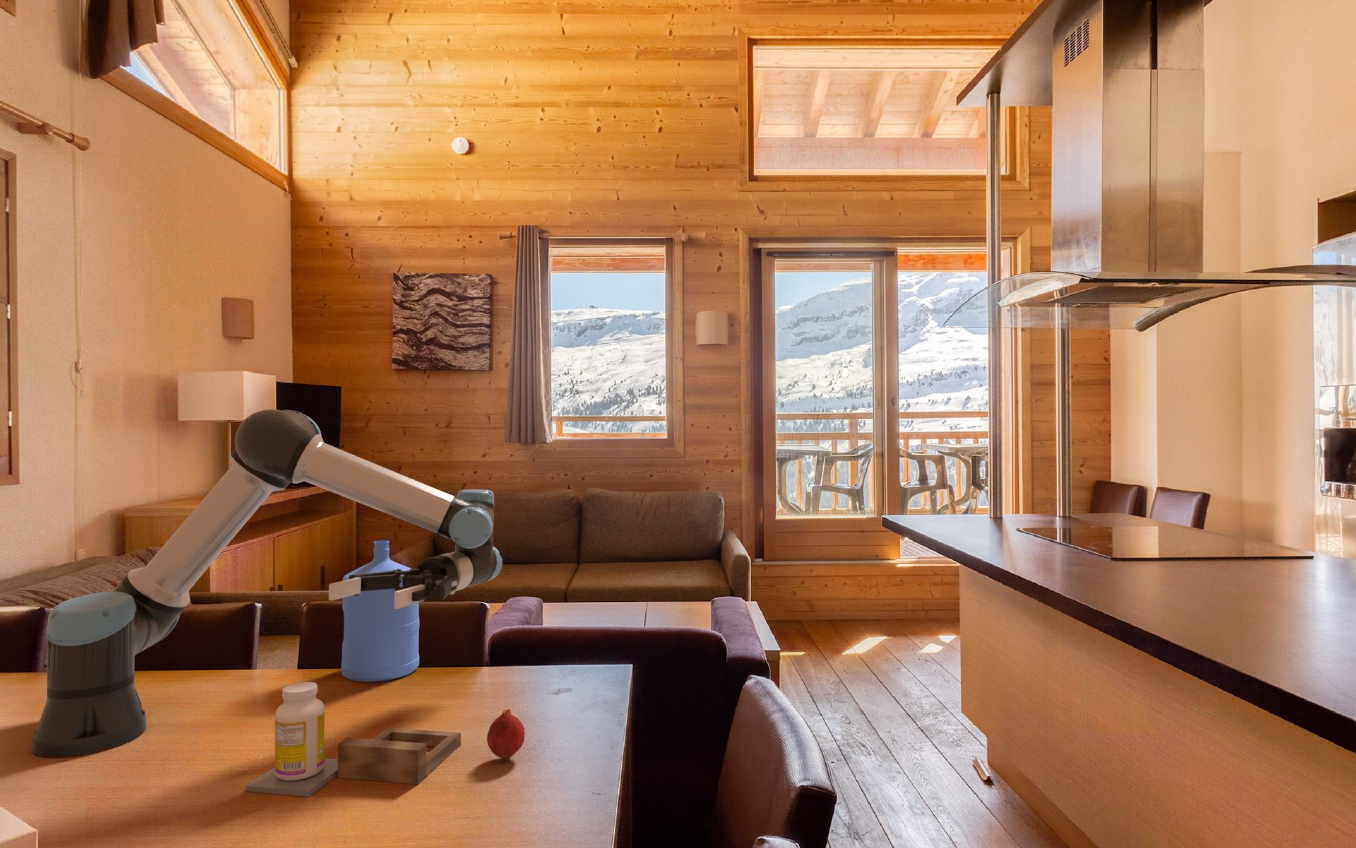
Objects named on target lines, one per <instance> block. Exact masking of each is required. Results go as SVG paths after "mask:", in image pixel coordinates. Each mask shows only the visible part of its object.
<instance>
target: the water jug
mask: <svg viewBox="0 0 1356 848" xmlns="http://www.w3.org/2000/svg"><path fill="white" fill-rule="evenodd" d="M389 544H390V540H375V541H373V545H374V547H373V559H372V560H371V561H370V562H368V563H366V564H364V565H363V566H360V567H358V568H356V569H354V570H353V571H350V572H349V573H347V574H345V575H344V576H343V577H342V581H345V580H349V576H350V575H358V574H367V573H376V572H385V571H392V570H397V569H401V570H402V571H409V570H410V569H412V568H411V567H408V566H406V565H403V564H400V563H398V562H397V561H394V560H392V559H391V558H390V547H389V546H390V545H389ZM402 582H403V580H401V583H399V587H403V585H402ZM395 592H396V590H395V589H384V590H371V591H361V593H359V594H358V596H354V595H351V596H348V597H344V598H341V599H342V602H341V603H342V604H341V605H342V607H341V608H342V609H341V610H343V624H344V625H343V640H342V644H341V649H342V650H341V663H340V666H341V668H340V670H341V671H340V672H341V674H342V676H343V677H344V678H345V679H347V680H349V681H353V682H362V683H374V682H375V683H377V682H385V681H392V680H395V679H399V678H402V677H405V676H408V675H410V674H412V673H413V672H414V671H417V669H418V668H419V665H420V655H419V639H420V638H419V634H420V633H419V629H420V617H419V611H420V607H419V606H420V605H419V604H420V602H419V603H415V604H412V605H409V606H406V607H402V608H399V609H395V608H394V593H395Z"/></svg>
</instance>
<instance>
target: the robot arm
mask: <svg viewBox="0 0 1356 848" xmlns="http://www.w3.org/2000/svg"><path fill="white" fill-rule="evenodd" d="M234 446H235V448H234V450H233V451H232V452H231V453H230V454H229V459H230V463H231V466H230V468H229V469H228V470H227V471H226V472H225V473H224V474H223V476H222V477H220V479H219V480H218V481H217V482H216V484H215V485H214V486H213V487H212V489H210V491H209V492H208V494H206V495H205V497H204V498H203V499H202V500H201V501H200V502H199V504H198V505H197V506H196V507H195V508H194V510H193V511H192V512H191V513H190V514H189V515H188V516H187V518H185V520H184V521H183V522H182V523H181V525H180V526H179V527H178V528H177V529H176V531H174V533H173V534H172V535H171V536H170V537H169V539H168V540H167V541H166V542H165V543H164V545H162V547H160V549H159V550H158V551H157V552H156V554H155V555H154V556H153V557H152V558H151V559H150V560H149V562H148V563H146V565H145V566H144V567H136V568H132V569H131V570H129V572H128V573H126V575H125V576H124V577H123V578H122V580H121V581H120V582H119V583H118V584H117V585H116V587H114V589H113V590H112V591H102V592H93V593H88V594H83V595H82V596H77V597H73V598H69V599H67V600H64V601H62V602H60V603H58V604H57V605H55V606H54V607H53V608H52V609H51V610H50V611H49V614H48V619H47V626H46V628H45V636H46V700H45V704H44V707H43V710H42V713H41V715H40V716H41V717H40V718H39V721H38V725H37V728H36V729H35V731H34V733H33V735H32V738H31V739H32V743H31V744H32V745H31V746H32V748H31V749H32V753H33V754H34V755H37V756H40V757H45V758H63V757H74V756H81V755H82V756H83V755H86V754H92V753H96V752H100V751H103V750H109V749H112V748H115V747H118V746H120V745H123V744H126V743H128V742H130V741H132V740H134V739H136V738H138V737H139V736H141V735H143V733H145V731H146V730H147V713H146V711H145V710H144V709H143V706H142V702H141V700H140V697H139V694H138V692H137V688H136V686H135V656H136V655H138V654H139V653H141V652H143V651H144V650H146V649H149V648H151V647H152V646H155V645H156V644H158V643H159V642H160V641H162V640H164V639H165V638H167V636H168V635H169V634H170V633H172V631H173V629H174V628H175V627H176V625H177V623H178V622H179V619H180V615H181V613H183V611H184V610H185V609H186V608H187V607H188V605H189V604H190V602H191V597H190V592H189V591H190V590H191V589H192V588H193V587H194V585H195V584H196V583H197V581H199V579H200V578H201V577H202V576H203V574H204V573H205V572H206V571H207V570H208V569H209V567H210V566H211V565H212V564H213V562H214V561H215V560H216V559H217V558H218V556H219V555H221V554H222V552H223V551H224V550H225V548H226V547H227V546H228V545H229V544H230V542H231V541H232V540H233V539H234V538H235V536H236V535H237V534H238V533H239V532H240V531H241V529H243V527H244V526H245V525H246V524H247V522H248V521H249V520H251V518H252V517H253V515H254V514H255V513H256V512H257V510H258V509H259V508H260V507H261V505H262V504H264V502H265V501H266V499H268V497H269V496H270V495H271V494H272V493H273V492H277V491H278V492H279V491H284V490H286V489H287V487H288V486H289V485H290V484H291V483H292V484H296V485H297V484H299V483H302V482H306V483H308V484H311V485H314V486H316V487H319V488H321V489H324V490H326V491H328V492H331V493H333V494H335V495H339V496H340V497H343V498H347V499H349V500H351V501H353V502H357V503H359V504H361V505H364V506H366V507H370V508H372V509H374V510H377V511H380V512H381V513H385V514H387V515H389V516H392V517H394V518H397V519H400V520H402V521H405V522H407V523H410V524H413V525H415V526H418V527H420V528H423V529H425V530H428V531H430V532H433V533H435V534H438V535H439V536H441V537H444V538H446V539H449V540H452V541H453V542H454V551H451V552H448V553H443V554H442V553H441V554H439V555H435V556H431V557H427V558H424V560H422V561H421V562H420V563H419V564H418V566H417V568H411V569H410V570H409V571H402V570H401V569H397V570H392V571H385V572H376V573H367V574H358V575H350V576H349V580H345V581H343V580H342V581H337V582H333V583H329V584H328V601H335V600H340V599H342V598H344V597H348V596H351V595H354V596H358V594H359V593H361V591H371V590H384V589H395V590H396V592H395V593H394V608H395V609H399V608H402V607H406V606H409V605H412V604H415V603H419V604H420V603H422V602H425V600H426V601H428V602H430V601H433V600H434V598H435V599H436V601H438V602H442V601H445V599H446V598H447V597H448V596H449V595H455V594H456V593H455V592H457V591H460V590H464V589H468V588H471V587H475V586H477V585H483V584H485V583H488V582H489V581H492V580H493V579H496V577H498V575H499V574H500V572H501V570H502V567H503V558H502V556H501V554H500V551H499V550H498V549H497V547H495V546H494V524H495V518H494V517H495V493H494V492H493V491H492V490H488V489H461V490H459V491H458V492H457V494H456V496H454V495H452V494H449V493H447V492H445V491H443V490H440V489H437V488H434V487H432V486H429V485H427V484H425V483H422V482H420V481H417V480H416V479H412V478H410V477H408V476H406V475H403V474H400V473H398V472H395V471H393V470H391V469H389V468H386V467H384V466H381V465H379V464H376V463H375V462H372V461H369V460H366V459H364V458H361V457H359V456H357V455H354V454H352V453H349V452H347V451H345V450H343V449H340V448H338V447H335V446H333V445H330V444H328V443H325V442H324V439H323V437H322V431H321V430H320V428H319V426H318V424H317V423H316V422H315V421H314V420H313V419H312V418H311V417H309V416H307V415H306V414H303V413H302V412H300V411H296V410H292V409H283V410H280V409H272V408H271V409H263V410H259V411H256V412H253V413H251V414H250V415H249V416H247V417H246V418H244V420H242V421H241V423H239V426H238V427H237V429H236V433H235V435H234ZM401 580H403V582H402V585H403V587H399V583H401Z"/></svg>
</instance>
